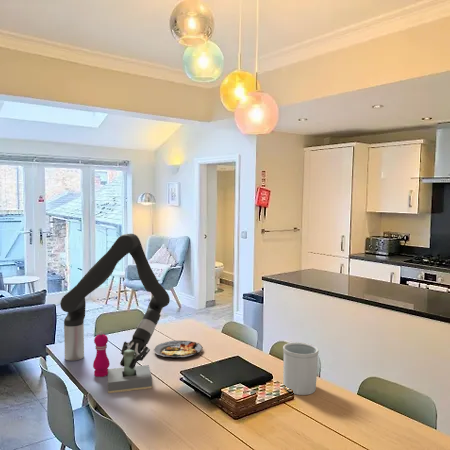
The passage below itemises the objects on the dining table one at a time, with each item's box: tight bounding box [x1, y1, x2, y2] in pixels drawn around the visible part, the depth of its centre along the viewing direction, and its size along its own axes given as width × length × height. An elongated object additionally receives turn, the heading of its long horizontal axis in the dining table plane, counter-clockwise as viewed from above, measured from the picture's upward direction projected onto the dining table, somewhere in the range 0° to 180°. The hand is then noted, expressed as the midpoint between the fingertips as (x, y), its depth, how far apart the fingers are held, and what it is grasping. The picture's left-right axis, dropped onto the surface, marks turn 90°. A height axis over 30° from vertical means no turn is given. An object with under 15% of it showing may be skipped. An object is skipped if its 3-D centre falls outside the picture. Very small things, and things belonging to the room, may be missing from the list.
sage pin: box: [123, 350, 135, 377], centre depth 181 cm, size 4×4×12 cm
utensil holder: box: [282, 341, 320, 396], centre depth 179 cm, size 15×15×18 cm
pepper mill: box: [92, 330, 111, 378], centre depth 191 cm, size 7×7×20 cm
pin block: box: [107, 364, 153, 394], centre depth 182 cm, size 14×18×4 cm
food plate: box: [153, 340, 203, 358], centre depth 220 cm, size 25×23×4 cm
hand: (126, 366), depth 180 cm, fingers closed on sage pin, 4 cm apart
